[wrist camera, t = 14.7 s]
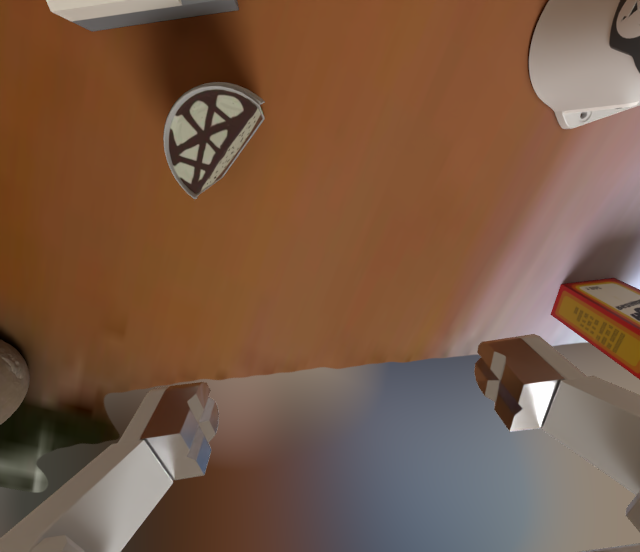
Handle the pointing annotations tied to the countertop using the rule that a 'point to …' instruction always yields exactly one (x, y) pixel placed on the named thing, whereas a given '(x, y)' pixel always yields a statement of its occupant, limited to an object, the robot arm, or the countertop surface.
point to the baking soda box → (604, 317)
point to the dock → (134, 11)
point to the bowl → (11, 380)
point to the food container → (209, 132)
